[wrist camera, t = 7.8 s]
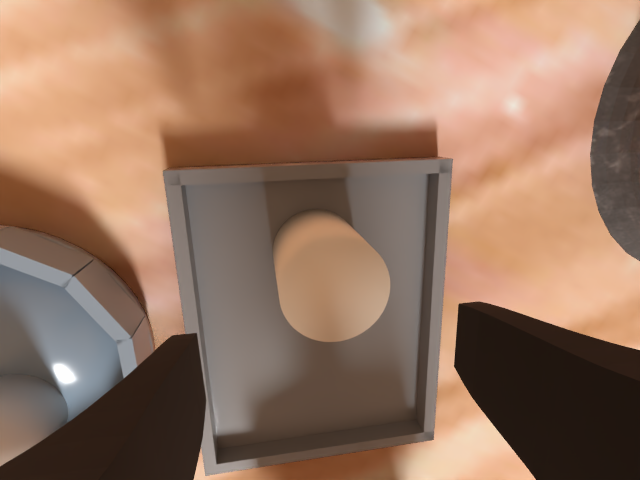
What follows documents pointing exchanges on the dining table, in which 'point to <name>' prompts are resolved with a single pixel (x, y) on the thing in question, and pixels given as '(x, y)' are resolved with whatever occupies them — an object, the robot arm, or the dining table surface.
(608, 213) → the tankard
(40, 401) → the tan rounded cylinder
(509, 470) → the dining table surface
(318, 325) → the beige rounded cylinder
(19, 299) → the bowl
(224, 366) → the parts tray
